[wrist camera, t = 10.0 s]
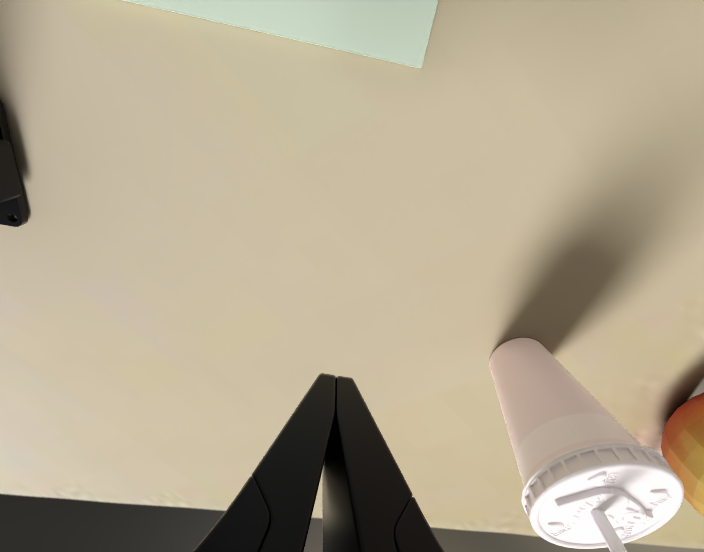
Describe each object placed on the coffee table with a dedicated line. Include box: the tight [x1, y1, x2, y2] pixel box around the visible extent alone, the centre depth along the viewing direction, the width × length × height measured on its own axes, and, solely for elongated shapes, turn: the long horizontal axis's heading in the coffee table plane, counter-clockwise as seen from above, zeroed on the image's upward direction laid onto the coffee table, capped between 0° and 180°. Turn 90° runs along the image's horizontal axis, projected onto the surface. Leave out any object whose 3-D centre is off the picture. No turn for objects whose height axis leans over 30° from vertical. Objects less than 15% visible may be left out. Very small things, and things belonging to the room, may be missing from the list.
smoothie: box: [489, 338, 684, 552], centre depth 18 cm, size 6×6×14 cm
